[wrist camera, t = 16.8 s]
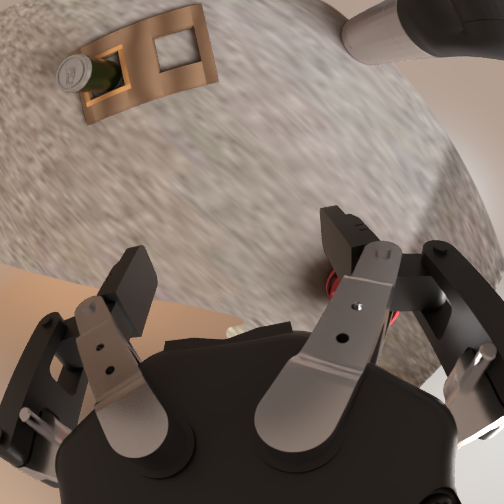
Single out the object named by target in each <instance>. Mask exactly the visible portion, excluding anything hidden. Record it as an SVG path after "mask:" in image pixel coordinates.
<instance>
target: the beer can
mask: <svg viewBox="0 0 504 504" xmlns="http://www.w3.org/2000/svg"><path fill="white" fill-rule="evenodd" d="M120 79H121V69H120V66H119V65H118V64H117V63H115V62H113V61H109V60H105V59H101V58H97V57H93V56H88V55H84V54H76V55H72V56H70V57H67V58H66V59H65V60H64V61H63V62H62V63H61V64H60V66H59V68H58V70H57V74H56V83H57V85H58V87H59V88H60V89H61V90H63V91H65V92H68V93H78V92H108V91H110V90H112V89H114V88H115V87H116V86H117V85H118V83H119V81H120Z"/></svg>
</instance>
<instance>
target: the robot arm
mask: <svg viewBox="0 0 504 504" xmlns="http://www.w3.org/2000/svg"><path fill="white" fill-rule="evenodd" d="M341 36H342V41H343V44H344V46H345V48H346V50H347V51H348V53H349V54H350V55H351V56H352V57H353V58H355V59H356V60H358V61H359V62H361V63H364V64H367V65H378V64H384V63H392V62H399V61H407V60H416V59H427V58H439V57H455V56H471V57H483V58H491V59H498V60H504V0H385V1H383V2H381V3H379V4H377V5H375V6H373V7H371V8H369V9H367V10H366V11H364V12H362V13H360V14H358V15H357V16H355V17H353V18H351V19H350V20H348V21H347V22H346V23H345V24H344V26H343V28H342V33H341ZM320 221H321V233H322V244H323V248H324V252H325V254H326V256H327V258H328V259H329V261H330V263H331V265H332V267H333V269H334V270H335V272H336V274H337V276H338V278H339V280H340V284H339V285H338V287H337V289H336V291H335V293H334V295H333V297H332V298H331V300H330V302H329V304H328V306H327V307H326V309H325V311H324V313H323V314H322V316H321V318H320V320H319V321H318V323H317V325H316V327H315V328H314V330H313V332H307V331H292V327H291V323H290V321H289V322H284V323H279V324H274V325H269V326H264V327H258V328H256V329H253V330H250V331H248V332H245V333H242V334H239V335H237V336H234V337H231V338H228V339H205V338H188V339H180V340H172V341H165V346H164V350H163V351H161V352H159V353H156V354H154V355H152V356H150V357H149V358H147V359H146V360H144V361H143V362H142V361H141V359H140V357H139V356H138V355H137V352H136V351H135V349H134V348H133V346H132V344H131V343H130V341H129V340H130V338H132V337H141V336H142V332H143V329H144V326H145V323H146V319H147V316H148V313H149V310H150V307H151V303H152V300H153V297H154V294H155V291H156V288H157V284H158V281H157V275H156V272H155V270H154V268H153V265H152V263H151V261H150V258H149V256H148V253H147V251H146V249H145V247H144V246H143V245H140V246H135V247H131V248H128V249H126V251H125V253H124V254H123V256H122V258H121V259H120V261H119V262H118V263H117V264H116V265H115V266H114V267H113V268H112V269H111V271H110V273H109V276H107V278H106V281H104V283H103V285H102V287H101V288H100V290H99V292H98V294H97V296H92V297H90V298H87V299H85V300H84V301H83V302H81V303H80V304H79V305H78V307H77V308H76V310H75V316H74V317H72V318H70V319H67V320H63V319H62V317H61V316H60V314H59V313H58V312H53V313H50V314H48V315H46V316H45V317H44V318H43V319H42V320H41V321H40V322H39V323H38V325H37V327H36V329H35V330H34V332H33V334H32V336H31V338H30V340H29V342H28V343H27V346H26V347H25V349H24V351H23V354H22V356H21V358H20V360H19V362H18V364H17V366H16V368H15V370H14V373H13V375H12V377H11V380H10V382H9V384H8V387H7V389H6V392H5V394H4V397H3V399H2V402H1V405H0V457H1V458H3V459H4V460H6V461H7V462H9V463H10V464H11V465H12V466H14V467H15V468H17V469H18V470H20V471H22V472H24V473H25V474H27V475H29V476H31V477H32V478H34V479H37V480H40V481H42V482H44V483H46V484H48V485H49V486H52V487H54V488H59V490H60V497H61V504H461V502H460V500H459V498H458V496H457V493H456V488H455V476H454V474H455V457H456V450H457V449H458V448H460V447H462V446H464V445H465V444H467V443H469V442H471V441H473V440H474V439H476V438H479V439H482V440H486V439H489V438H491V437H493V436H494V435H495V434H497V433H498V432H499V431H500V430H502V428H504V301H503V300H502V299H501V297H500V296H499V295H498V294H497V293H496V292H495V290H494V289H493V288H492V287H491V286H490V284H489V283H488V282H487V281H486V280H485V279H484V278H483V277H482V275H481V274H480V273H479V272H478V271H477V270H476V269H475V268H474V267H473V266H472V265H471V264H470V263H469V262H468V260H467V259H466V258H465V257H464V256H463V255H462V254H461V253H460V252H459V251H458V250H457V249H456V248H455V247H454V246H452V245H451V244H449V243H447V242H444V241H439V240H432V241H428V242H426V243H425V244H424V245H423V249H422V254H403V253H402V250H401V248H400V247H399V246H398V245H396V244H394V243H392V242H388V241H380V240H379V239H378V237H377V236H376V235H375V234H374V233H373V232H372V231H371V230H370V229H369V228H368V227H367V226H366V225H365V224H364V222H363V221H362V220H361V219H360V218H358V217H356V216H354V215H352V214H345V213H344V212H343V211H342V210H341V209H340V208H339V207H338V206H337V205H335V206H330V207H324V208H320ZM446 298H448V299H449V301H450V303H451V306H450V304H449V303H448V302H447V300H446ZM397 311H413V313H414V315H415V317H416V318H417V320H418V322H419V323H420V325H421V327H422V329H423V331H424V332H425V334H426V336H427V338H428V340H429V342H430V343H431V345H432V347H433V349H434V351H435V353H436V355H437V357H438V359H439V361H440V363H441V365H442V367H443V369H444V371H445V373H446V375H447V377H448V378H447V380H446V381H445V384H444V389H443V392H444V397H445V403H446V405H445V404H444V403H443V402H442V401H441V400H439V399H438V398H436V397H434V396H433V395H431V394H429V393H427V392H425V391H423V390H421V389H419V388H418V387H416V386H414V385H412V384H410V383H408V382H406V381H404V380H402V379H401V378H399V377H397V376H395V375H393V374H391V373H389V372H388V371H386V370H384V369H382V368H380V367H379V366H377V364H378V361H379V358H380V354H381V351H382V348H383V345H384V342H385V339H386V335H387V332H388V329H389V326H390V322H391V319H392V315H393V312H397ZM54 355H55V356H56V357H57V358H58V359H59V361H60V362H61V363H62V364H63V368H62V370H61V373H60V376H59V379H58V381H57V382H56V381H55V380H54V379H53V378H52V376H51V374H50V364H51V362H52V359H53V357H54ZM88 381H89V384H90V387H91V390H92V392H93V395H94V398H95V400H96V404H95V405H94V408H95V409H94V410H93V411H92V412H91V413H90V414H89V415H88V416H87V417H86V418H85V419H84V420H83V421H82V422H81V423H80V424H79V425H78V426H77V423H78V419H79V415H80V410H81V407H82V403H83V399H84V395H85V391H86V388H87V384H88Z"/></svg>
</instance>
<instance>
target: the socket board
mask: <svg viewBox="0 0 504 504" xmlns="http://www.w3.org/2000/svg"><path fill="white" fill-rule="evenodd" d="M191 28H194V29H195V33H196V38H197V43H198V47H199V52H200V56H201V62H197V63H193V64H190V65H186V66H182V67H179V68H175V69H172V70H169V71H165V72H162V73H161V70H160V65H159V61H158V56H157V51H156V47H155V42H154V39H157V38H160V37H164V36H167V35H170V34H173V33H177V32H180V31H184V30H188V29H191ZM76 54H84V55H88V56H93V57H97V58H101V59H107V58H109V57H111V56H113V55H115V54H119V59H120V64H121V69H122V73H123V78H124V83H125V86H123V87H120V88H118V89H115V90H113V91H111V92H108V93H106V94H104V95H102V96H99V97H97V98H95V99H94V94H93V92H79V93H80V97H81V102H82V106H83V110H84V114H85V118H86V122H87V125H91V124H93V123H95V122H98V121H100V120H102V119H104V118H107V117H109V116H112V115H114V114H117V113H119V112H122V111H124V110H127V109H129V108H132V107H135V106H137V105H140V104H143V103H146V102H149V101H152V100H155V99H158V98H161V97H164V96H167V95H171V94H174V93H177V92H181V91H184V90H188V89H192V88H196V87H200V86H204V85H208V84H212V83H216V82H219V80H218V75H217V71H216V66H215V62H214V57H213V53H212V48H211V44H210V39H209V35H208V30H207V26H206V21H205V17H204V13H203V8H202V4H201V3H200V4H196V5H192V6H188V7H184V8H181V9H177V10H173V11H170V12H167V13H164V14H160V15H157V16H154V17H151V18H149V19H146V20H143V21H140V22H138V23H135V24H132V25H130V26H127V27H125V28H123V29H120V30H118V31H116V32H113V33H111V34H109V35H107V36H105V37H102V38H100V39H98V40H96V41H94V42H92V43H90V44H88V45H86V46H84V47H83V48H81V49H79V50H77V51H75V52H73V53H72V55H76Z"/></svg>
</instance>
